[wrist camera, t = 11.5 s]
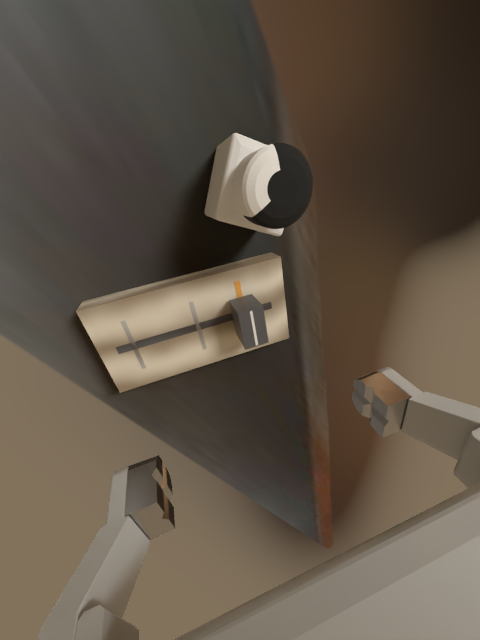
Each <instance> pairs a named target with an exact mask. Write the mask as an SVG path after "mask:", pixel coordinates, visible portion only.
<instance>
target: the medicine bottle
mask: <svg viewBox="0 0 480 640" xmlns="http://www.w3.org/2000/svg"><path fill="white" fill-rule="evenodd" d="M312 190H313V177H312V172H311V168H310V165H309V163H308V161H307V159H306V158H305V156H304V155H303V154H302V153H301V152H300V151H299V150H298V149H297V148H295V147H293V146H291V145H289V144H285V143H275V144H271V145H265V144H263V143H260V142H258V141H255V140H253V139H250V138H248V137H245V136H243V135H240V134H238V133H234V134H232V135H231V136H230V137H229V138H227V139H226V140H225V141H224V142H222V143H221V144H220V145H219V146H217V148H216V154H215V159H214V164H213V169H212V175H211V180H210V185H209V190H208V195H207V201H206V206H205V211H204V213H205V215H206V216H209V217H211V218H213V219H216V220H218V221H222V222H225V223H229V224H233V225H237V226H241V227H244V228H248V229H252V230H256V231H259V232H263V233H267V234H271V235H275V236H281V235H282V232H283V229H284V228H285V227H287V226H289V225H291V224H293V223H294V222H296V221H297V220H298V219H299V218H300V217H301V216H302V214H303V213H304V212H305V210H306V208H307V207H308V204H309V202H310V199H311V195H312Z"/></svg>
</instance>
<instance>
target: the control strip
mask: <svg viewBox="0 0 480 640" xmlns="http://www.w3.org/2000/svg"><path fill="white" fill-rule="evenodd" d="M250 294H252V295H253V296H254V297H255V298H256V299H257V300H258V301H259V302H260V303H261V304H262V305H263V308H264V315H265V321H266V328H267V335H268V341H269V343H265V344H262V345H259V346H256V347H253V348H250V349H247V350H245V349H244V347H243V345H242V343H241V341H240V340H239V338H238V336H237V334H236V330H235V326H234V321H233V316H232V312H231V307H230V303H229V300H232V299H236V298H239V297H243V296H246V295H250ZM76 313H77V315H78V316H79V318H80V320H81V322H82V324H83V326H84V327H85V329H86V331H87V333H88V335H89V337H90V338H91V340H92V342H93V344H94V346H95V348H96V349H97V351H98V353H99V355H100V357H101V359H102V360H103V362H104V364H105V366H106V368H107V370H108V372H109V373H110V375H111V377H112V379H113V381H114V383H115V384H116V386H117V388H118V390H119V392H120V393H121V392H124V391H127V390H130V389H133V388H136V387H139V386H142V385H146V384H149V383H152V382H155V381H158V380H161V379H164V378H167V377H170V376H173V375H176V374H180V373H183V372H186V371H189V370H192V369H195V368H198V367H201V366H204V365H207V364H210V363H213V362H217V361H220V360H223V359H226V358H229V357H232V356H235V355H238V354H241V353H244V352H247V351H251V350H254V349H257V348H260V347H263V346H266V345H269V344H272V343H275V342H278V341H281V340H285V339H288V338H289V332H288V322H287V313H286V303H285V293H284V284H283V274H282V264H281V257H280V256H278V255H276V254H274V253H272V252H271V253H267V254H263V255H259V256H255V257H252V258H248V259H244V260H240V261H236V262H232V263H229V264H225V265H221V266H217V267H213V268H209V269H206V270H202V271H198V272H194V273H190V274H186V275H183V276H179V277H175V278H171V279H167V280H163V281H160V282H156V283H152V284H148V285H144V286H140V287H136V288H133V289H129V290H125V291H121V292H117V293H113V294H110V295H106V296H102V297H98V298H94V299H90V300H87V301H83V302H82V303H81V305H80V306H79V308H78V309H77V311H76Z"/></svg>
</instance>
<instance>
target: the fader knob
mask: <svg viewBox="0 0 480 640" xmlns="http://www.w3.org/2000/svg"><path fill="white" fill-rule="evenodd" d="M229 303H230V307H231V312H232V316H233V321H234V326H235V330H236V334H237V336H238V338H239V340H240V341H241V343H242V345H243V347H244V349H245V350H247V349H250V348H253V347H256V346H259V345H262V344H265V343H269V341H268V335H267V328H266V321H265V315H264V308H263V305H262V304H261V303H260V302H259V301H258V300H257V299H256V298H255V297H254V296H253V295H252V294H250V295H246V296H243V297H239V298H236V299H232V300H229Z"/></svg>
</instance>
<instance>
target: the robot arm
mask: <svg viewBox="0 0 480 640" xmlns="http://www.w3.org/2000/svg"><path fill="white" fill-rule="evenodd" d="M354 387H355V388H356V390H355V391H354V393H353V402H354V404H355V407H356V408H357V410H358V411H359V412H360V413H361V414H362V415H363V416H365V417H368V418H370V424H371V425H372V427H373V428H374V429H375V430H376V431H377V432H378V433H379V434H380V435H381V436H382V437H385V436H387V435H390V434H392V433H395V432H397V431H400V430H401V431H402V432H404V433H406V434H408V435H409V436H411V437H414V438H416V439H418V440H419V441H422V442H424V443H425V444H427V445H429V446H431V447H433V448H435V449H437V450H439V451H441V452H443V453H445V454H447V455H449V456H451V457H453V458H455V459H457V460H458V462H457V464H456V466H455V468H454V475H455V476H456V477H457V478H459V480H460V481H461V482H462V483H464V484H465V485H466V486H467V487H468V489H467V490H464V491H463V492H460V493H459V494H457V495H455V496H453V497H451V498H449V499H447V500H445V501H443V502H441V503H439V504H437V505H435V506H433V507H431V508H429V509H427V510H426V511H423V512H421V513H419V514H418V515H416V516H414V517H412V518H410V519H408V520H406V521H404V522H402V523H400V524H398V525H396V526H394V527H392V528H390V529H388V530H386V531H385V532H382V533H381V534H379V535H377V536H375V537H373V538H371V539H369V540H367V541H365V542H363V543H361V544H359V545H357V546H355V547H353V548H351V549H349V550H347V551H345V552H344V553H341V554H340V555H338V556H336V557H334V558H332V559H330V560H328V561H326V562H324V563H322V564H320V565H318V566H316V567H314V568H312V569H310V570H308V571H306V572H304V573H302V574H301V575H299V576H297V577H295V578H293V579H291V580H289V581H287V582H285V583H283V584H281V585H279V586H277V587H275V588H273V589H271V590H269V591H267V592H265V593H264V594H261V595H260V596H258V597H256V598H254V599H252V600H250V601H248V602H246V603H244V604H242V605H240V606H238V607H236V608H234V609H232V610H230V611H229V612H227V613H224V614H222V615H220V616H219V617H217V618H215V619H213V620H211V621H209V622H207V623H205V624H203V625H201V626H199V627H197V628H195V629H193V630H191V631H189V632H187V633H185V634H183V635H181V636H180V637H178V638H176V639H174V640H480V408H478V407H474V406H471V405H468V404H465V403H462V402H458V401H455V400H451V399H448V398H445V397H442V396H439V395H435V394H432V393H429V392H424V393H423V392H421V391H420V390H419V389H417V388H416V387H415V386H414V385H412V384H411V383H410V382H408V381H407V380H406V379H404V378H403V377H402V376H401V375H399V374H398V373H397V372H395V371H394V370H393V369H391V368H389V367H386V368H383V369H381V370H378V371H375V372H372V373H370V374H367V375H365V376H362V377H360V378H358V379H356V380H355V381H354ZM171 496H172V484H171V479H170V475H169V473H168V470H167V468H166V467H163V466H162V460H161V458H160V457H159V455H158V456H156V457H153V458H150V459H147V460H145V461H142V462H139V463H136V464H134V465H131V466H128V467H125V468H123V469H120V470H118V471H115V472H114V474H113V477H112V483H111V490H110V498H109V507H108V515H107V521H106V525H104V526H102V527H101V528H100V530H99V532H98V533H97V535H96V537H95V539H94V540H93V542H92V544H91V545H90V547H89V549H88V550H87V552H86V554H85V555H84V557H83V559H82V560H81V562H80V564H79V565H78V567H77V569H76V570H75V572H74V574H73V576H72V577H71V579H70V581H69V582H68V584H67V586H66V587H65V589H64V591H63V593H62V594H61V596H60V598H59V599H58V601H57V603H56V604H55V606H54V608H53V609H52V611H51V613H50V614H49V616H48V618H47V619H46V621H45V623H44V624H43V626H42V628H41V630H40V633H39V637H38V640H139V630H138V629H137V628H136V627H135V626H134V625H132V624H131V623H129V622H127V621H126V620H124V619H122V617H123V614H124V612H125V609H126V606H127V603H128V601H129V598H130V595H131V593H132V590H133V588H134V585H135V582H136V579H137V577H138V574H139V572H140V569H141V566H142V563H143V561H144V558H145V555H146V553H147V550H148V547H149V545H150V540H151V539H153V538H155V537H158V536H160V535H162V534H164V533H166V532H168V531H170V530H173V529H175V523H174V507H173V506H172V504H171V502H170V501H169V500H170V498H171Z"/></svg>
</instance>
